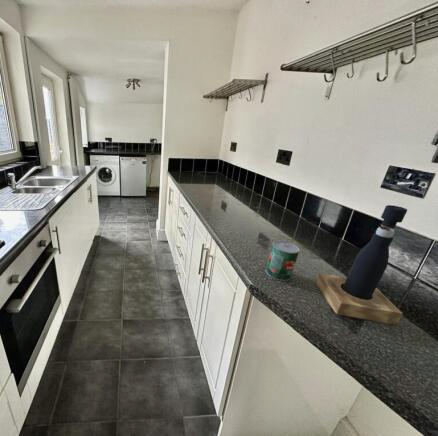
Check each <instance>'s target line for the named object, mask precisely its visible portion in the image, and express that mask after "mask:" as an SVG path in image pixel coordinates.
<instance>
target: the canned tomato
mask: <svg viewBox="0 0 438 436" xmlns="http://www.w3.org/2000/svg"><path fill="white" fill-rule="evenodd" d="M300 250H301V249H300V248H299V247H298V246H297V245H296V244H294V243H291V242H289V241H283V240H276V241H273V242H272V246H271V249H270V253H269V257H268V261H267V264H266V268H265V273H266V275H268V277H270V278H272V279H274V280H277V281H280V282H288V281H290V280H291V278H292V276H293V272H294V268H295V266H296V263H297V260H298V257H299V254H300Z"/></svg>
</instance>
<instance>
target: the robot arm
mask: <svg viewBox="0 0 438 436" xmlns="http://www.w3.org/2000/svg"><path fill="white" fill-rule="evenodd" d="M430 145H431V146H435V148H436V149H435V152H434V153H433V156H432V158H431V163H432V164H438V130H437V131H436V133H435V134H434V137H433V138H432V141H431V142H430Z"/></svg>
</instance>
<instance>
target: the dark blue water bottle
mask: <svg viewBox="0 0 438 436" xmlns="http://www.w3.org/2000/svg"><path fill="white" fill-rule="evenodd" d="M407 213H408V209H407V208H405V207H402V206H398V205H392V204H387V205H385V207H384V210H383V212H382V214H381V216H380V218H381V219H382V220H383V221H382V222H381V224H380V226H378V228H376V230H375V232H374V233H373V234H372V236H371V239H370V241H369V242H367V244H366V245H365V246H363V247H362V248H361V249H360V251H359V252H358V253H357V254H356V255H355V258H354V261H353V263H352V265H351V268H350V270H349V272H348V275H347V276H346V277H347V279H346V281H345V283H344V286H343V288H342V289H343V290H344V291H345V292H346V293H348V294H350V295H352V296H354V297H356V298H359V299H364V300H370V299H371V297H372V295H373V293H374V291H375V289H376V288H377V287H378V285H379V283H380V281H381V279H382V278H383V276H384V274H385V272H386V270H387V267H388V264H389V259H390V246H391V244H392V242H393V240H394V234H395V228H396V226H397V224H398V223H402V222H403V221H404V218H405V216H406V214H407Z"/></svg>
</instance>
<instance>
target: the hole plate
mask: <svg viewBox="0 0 438 436" xmlns="http://www.w3.org/2000/svg"><path fill="white" fill-rule="evenodd" d="M347 277H348V276H340V275H333V274H327V273H318V276H317V277H316V281H315V285H316V286H317V288H318V289H319V291H320V292H321V294H322V295H323V297H324V298H325V300H326V301H327V303H328V304H329V306H330V307H331V309H332V310H333V311H334V313H335V314H336V315H339V316H346V317H349V318H357V319H361V320H368V321H373V322H377V323H378V322H379V323H382V324H383V323H384V324H389V325H394V326H396V325H397V324H398V323H399V321H400V319H401V317H402V316H403V315H404V313H403V312H402V311H401V310H400V309H399V308H398V307H397V306H396V305H395V304H394V303H393V302H392V301H390V300H389V298H388V297H387V296H386V295H384V294H383V293H382V291H380V290H379V289H378V288H377V287H376V289H375V291H374V293H373V295H372V297H371V299H370V300H364V299H359V298H356V297H354V296H352V295H350V294H348V293H346V292H345V291H344V290H343V289H342V288H343V286H344V283H345V281H346V279H347Z"/></svg>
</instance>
